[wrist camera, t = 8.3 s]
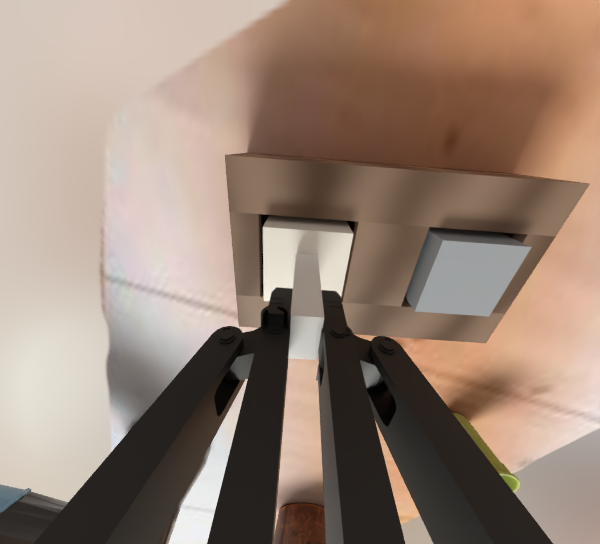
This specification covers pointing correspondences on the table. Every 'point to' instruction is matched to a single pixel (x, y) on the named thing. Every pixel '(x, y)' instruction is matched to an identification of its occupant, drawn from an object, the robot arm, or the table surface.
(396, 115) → the table surface
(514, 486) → the plant pot
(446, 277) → the slate key
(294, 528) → the brown tapered cylinder
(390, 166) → the key block
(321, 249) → the cream key
